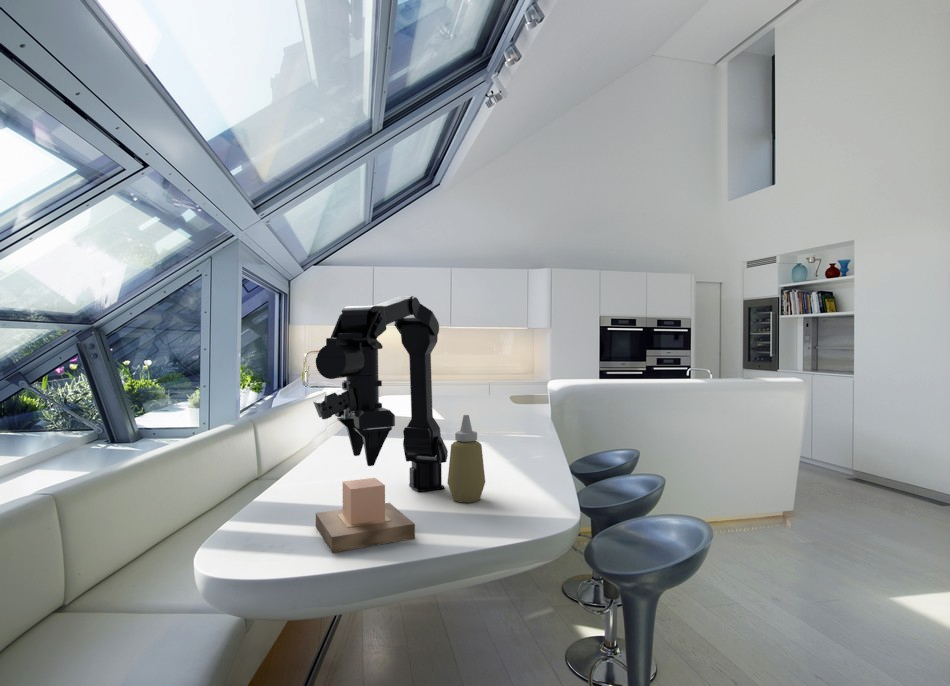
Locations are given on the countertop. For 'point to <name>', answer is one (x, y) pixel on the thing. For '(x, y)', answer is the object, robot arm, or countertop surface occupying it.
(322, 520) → the base board
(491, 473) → the countertop surface
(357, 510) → the cube
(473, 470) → the squeeze bottle
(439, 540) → the countertop surface
